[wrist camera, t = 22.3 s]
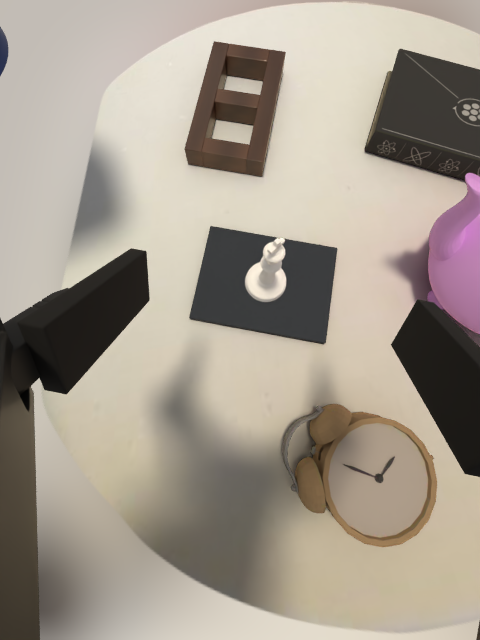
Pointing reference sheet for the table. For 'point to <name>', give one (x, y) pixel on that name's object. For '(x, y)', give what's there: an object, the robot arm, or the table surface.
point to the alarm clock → (365, 475)
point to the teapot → (458, 258)
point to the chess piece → (268, 273)
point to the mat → (248, 313)
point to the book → (429, 115)
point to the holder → (235, 108)
